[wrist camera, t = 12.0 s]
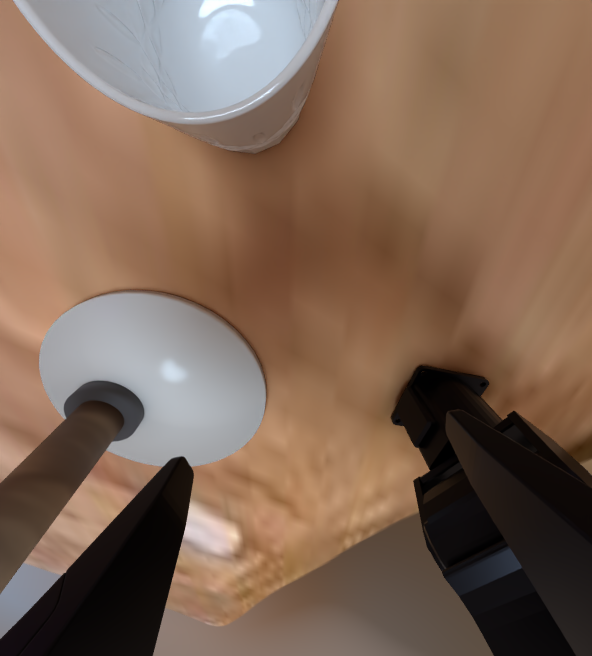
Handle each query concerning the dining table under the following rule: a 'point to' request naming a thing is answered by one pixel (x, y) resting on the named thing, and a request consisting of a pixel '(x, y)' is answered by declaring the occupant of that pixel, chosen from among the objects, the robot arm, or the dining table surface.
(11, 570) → the brown tapered knob
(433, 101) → the dining table surface
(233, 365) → the white smooth round part
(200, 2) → the white cup
